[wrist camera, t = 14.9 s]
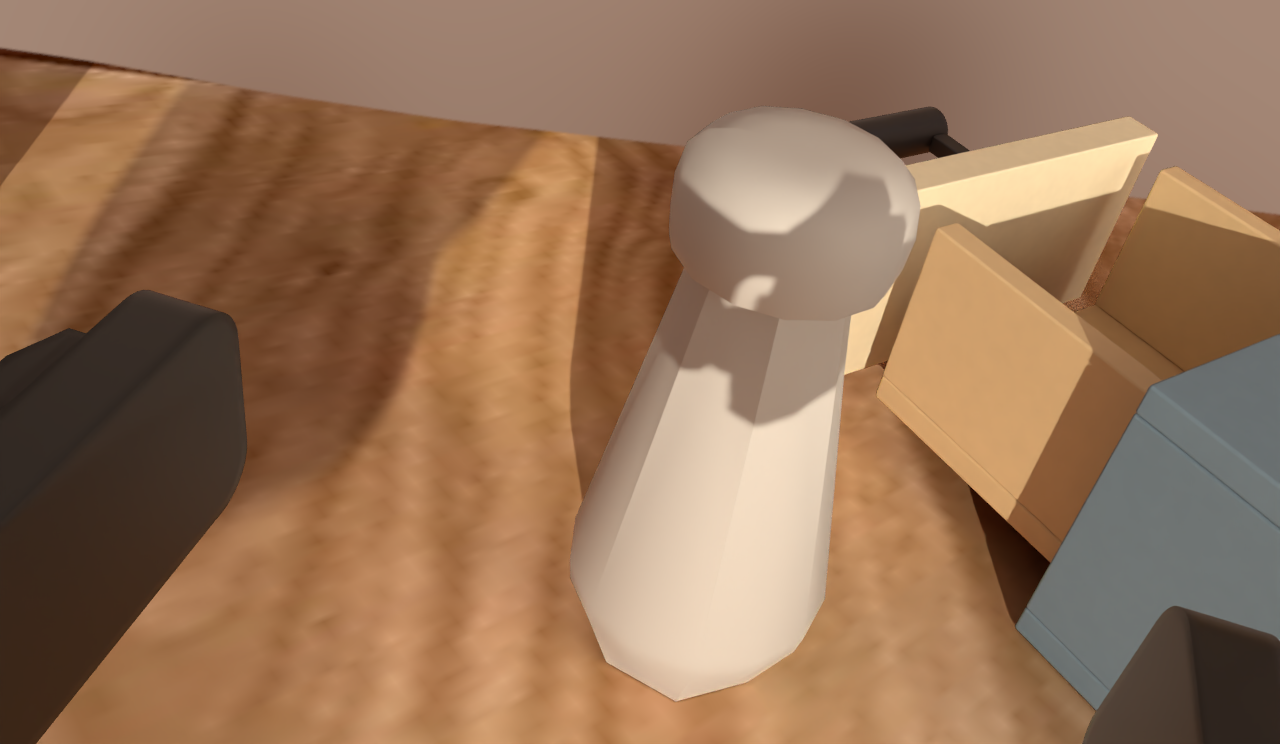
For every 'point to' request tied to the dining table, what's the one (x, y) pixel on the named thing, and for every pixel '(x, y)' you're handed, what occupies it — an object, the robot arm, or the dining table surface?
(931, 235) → the drawer
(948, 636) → the dining table surface
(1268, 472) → the cabinet
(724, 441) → the salt shaker
